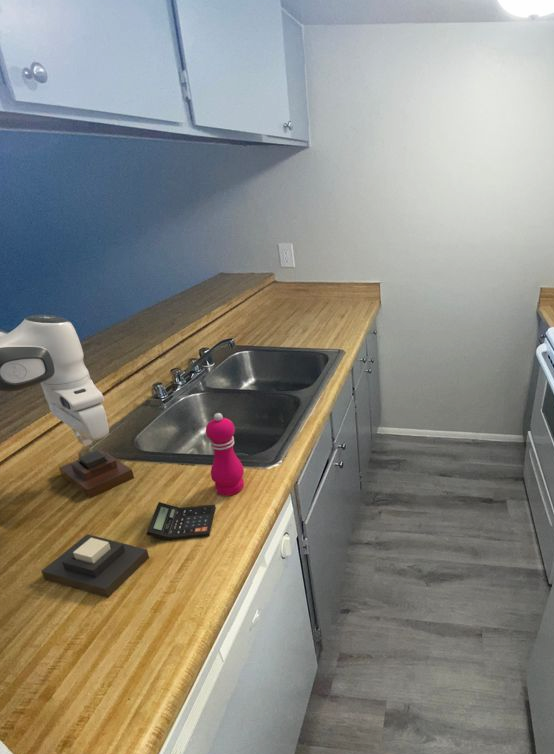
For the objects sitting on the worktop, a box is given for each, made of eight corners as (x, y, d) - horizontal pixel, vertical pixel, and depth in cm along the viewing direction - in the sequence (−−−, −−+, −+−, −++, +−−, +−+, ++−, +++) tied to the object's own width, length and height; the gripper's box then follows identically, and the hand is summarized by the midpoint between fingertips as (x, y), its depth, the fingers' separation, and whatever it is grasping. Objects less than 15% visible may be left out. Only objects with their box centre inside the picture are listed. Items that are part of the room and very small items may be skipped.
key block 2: (44, 579, 86) (37, 563, 84) (90, 542, 94) (84, 526, 93) (108, 597, 83) (102, 581, 81) (149, 557, 91) (145, 542, 90)
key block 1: (61, 476, 113) (56, 460, 111) (105, 458, 120) (100, 443, 118) (90, 498, 106) (84, 482, 104) (134, 478, 114) (130, 462, 111)
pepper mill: (223, 477, 115) (210, 404, 106) (251, 480, 114) (240, 407, 105) (208, 495, 109) (193, 419, 99) (237, 499, 108) (225, 423, 99)
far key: (80, 463, 111) (78, 457, 110) (98, 456, 114) (96, 450, 113) (88, 469, 109) (86, 463, 108) (106, 462, 112) (104, 456, 111)
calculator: (209, 536, 97) (206, 525, 96) (148, 543, 95) (144, 531, 93) (215, 507, 105) (213, 496, 104) (159, 512, 103) (156, 502, 102)
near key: (75, 559, 86) (72, 552, 85) (93, 544, 89) (91, 537, 88) (93, 564, 85) (90, 557, 84) (111, 549, 88) (108, 542, 87)
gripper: (31, 380, 105) (49, 433, 111) (74, 407, 95) (92, 464, 101) (62, 372, 110) (78, 423, 116) (107, 397, 100) (121, 452, 106)
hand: (85, 443), depth 109 cm, fingers closed
